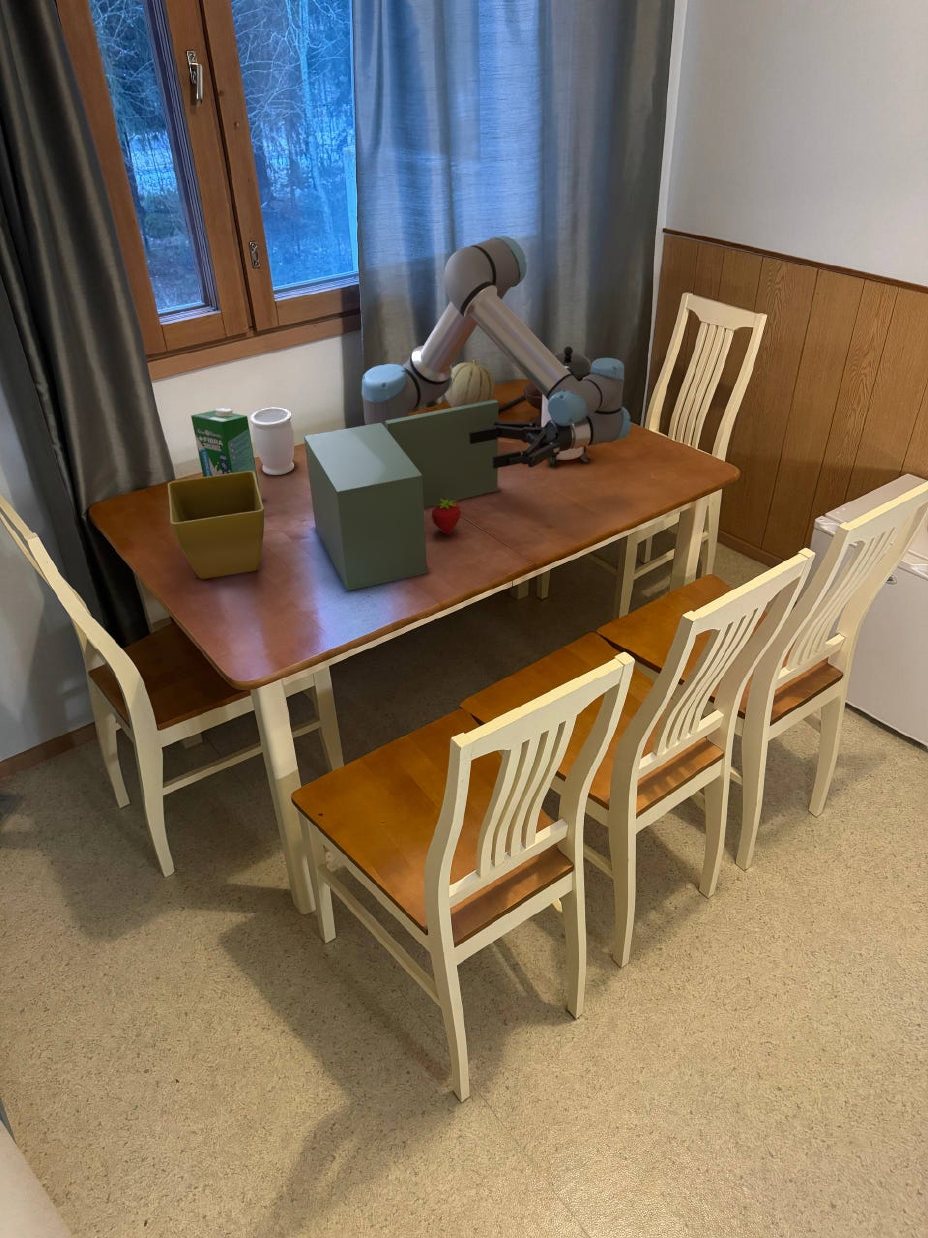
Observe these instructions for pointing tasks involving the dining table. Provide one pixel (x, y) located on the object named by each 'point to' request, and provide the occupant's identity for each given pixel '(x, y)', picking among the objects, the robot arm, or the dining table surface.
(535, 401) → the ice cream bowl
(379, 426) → the cupboard
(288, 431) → the jar
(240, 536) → the flower pot
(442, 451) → the cupboard door
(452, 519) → the strawberry
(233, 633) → the dining table surface
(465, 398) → the cantaloupe
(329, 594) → the dining table surface
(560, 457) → the coffee press
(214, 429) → the milk carton
